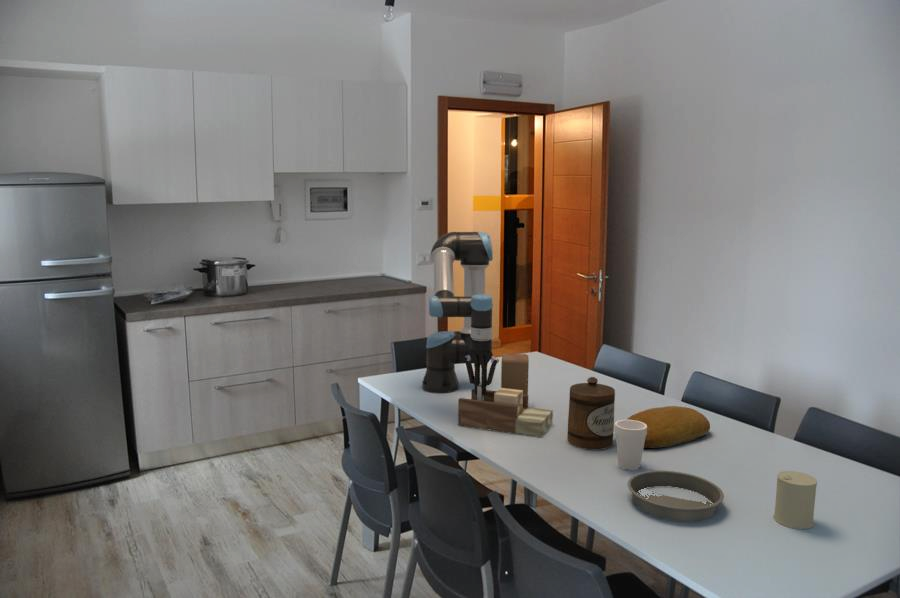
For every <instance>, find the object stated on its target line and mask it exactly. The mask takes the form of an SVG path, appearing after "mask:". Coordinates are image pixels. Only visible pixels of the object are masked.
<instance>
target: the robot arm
mask: <svg viewBox="0 0 900 598" xmlns="http://www.w3.org/2000/svg"><path fill="white" fill-rule="evenodd" d="M493 259H494V256H493V244H492V239H491V235H490V234H489V233H488V232H483V231H451V232H447V233H445V234H443V235H441V236H440V237H439V238H438V239H436V241H435V242H434V244H433V245H432V247H431V251H430V260H431V262H432V263H433V296H429V299H428V301H429V302H428V313H429V316H430V317H432V318H463V327H462V328H461V329H460V331H459V335H457V334H456V333H455V332H454V331H453V330H452V331H451V330H450V331H449V330H447V331H446V330H445V331H444V330H443V331H437V332H433V333H431V334H429V335H428V336H427V337H426V338H427V339H426V345H425V349H426V371H425V374H424V377H423V378H422V382H421V383H422V384H421V385H422V390H424V391H426V392H428V393H429V392H430V393H437V394H441V393H443V394H444V393H451V392H455V391H457V390H459V387H460V385H459V384H460V383H459V380H458V377H457V374H456V369H455V365H457V364H459V365H460V364H465V365H466V370H467V375H468V376H467V377H468V380H469V384H472V385H474V388H475V394H477V400H481V401H484V395H485V394H486V390H487V386H491V384H492V383H493V382H492V381H493V379H494V376H495V371H496V367H497V365H498V363H499V361H500V359H499V358H496V357H495V356H494V355H493V352H492V349H493V347H492V346H493V307H494V305H493V296H491V294H490V295H489V294H486V269H487V268H488V267H489V266H490V262H491V261H493ZM455 261H460V266H461V267H462V269H463V275H464V276H463V296H459V295H458V296H455V285H454V284H455V283H454V281H455V279H454V262H455ZM489 362H490V363H491V364H490V367H489V371H488V364H489ZM473 366H474V368H473Z"/></svg>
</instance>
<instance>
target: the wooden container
mask: <svg viewBox="0 0 900 598" xmlns="http://www.w3.org/2000/svg"><path fill="white" fill-rule="evenodd" d="M615 397H616V389H614V387H612V386H609V385H606V384H601V383H599V380H598V378H596V377H594V376H591V377H590V376H589V377H587V380H586V382H581V383H575V384H573V385H571V386H570V387H569V400H568V414H567V415H568V416H567V435H566V436H567V438H566V439H567V442H568V443H569V444H570V445H572V446H573V445H574V447H576V448H579V447H580V449H583V448H585V449H584V450H593V449H596V450H604V448H605V449H608V448H610V447H611V446H612V445H613V444H614V433H615V400H616V398H615Z"/></svg>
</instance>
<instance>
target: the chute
mask: <svg viewBox="0 0 900 598" xmlns="http://www.w3.org/2000/svg"><path fill="white" fill-rule="evenodd" d="M497 391H498V390H492V389H491V390H490V389H486V394H485V395H484V401H481V400H477V394H475V387H473V388H471V392H470V394H471V395H470V396H471V399H470V398H464V397H460V398H458V403H457V404H458V407H457V409H458V411H457V414H458V415H457V416H458V417H457V418H458V419H457V424H458V425H460V426H459V427H465V426H467V428H472V427H475V428H474V429H479V428H482V429H481V430H486V429H491V430H490V431H493V430H497V431H496V432H500V431H504V432H503V433H507V432H511V433H510V434H514V433H518V434H517V435H521V434H526V435H525V436H528V435H532V436H531V437H535V436H539V437H538V438H542V437H543V436H544V434H546V432H547V431H548V430H547V429H549V428H550V427H551V426H552V425H553V414H554V413H553V412H554V411H553V409H547V408H538V407H530V406H529V394H528V395H524V394H523V410H522V411H521V412H520V413H519V414H518V405H512V404H504V403H497V402H494V394H495V393H496V392H497ZM551 424H552V425H551ZM550 425H551V426H550ZM546 430H547V431H546ZM545 431H546V432H545ZM542 435H543V436H542ZM541 436H542V437H541Z"/></svg>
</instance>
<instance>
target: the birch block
mask: <svg viewBox="0 0 900 598" xmlns="http://www.w3.org/2000/svg"><path fill="white" fill-rule="evenodd" d="M496 391H497V392H496V393H495V394H494V402H497V403H504V404H512V405H518V414H519V413H520V412H521V411H522V410H523V390H515V389H506V388H501V387H500V389H498V390H496Z"/></svg>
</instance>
